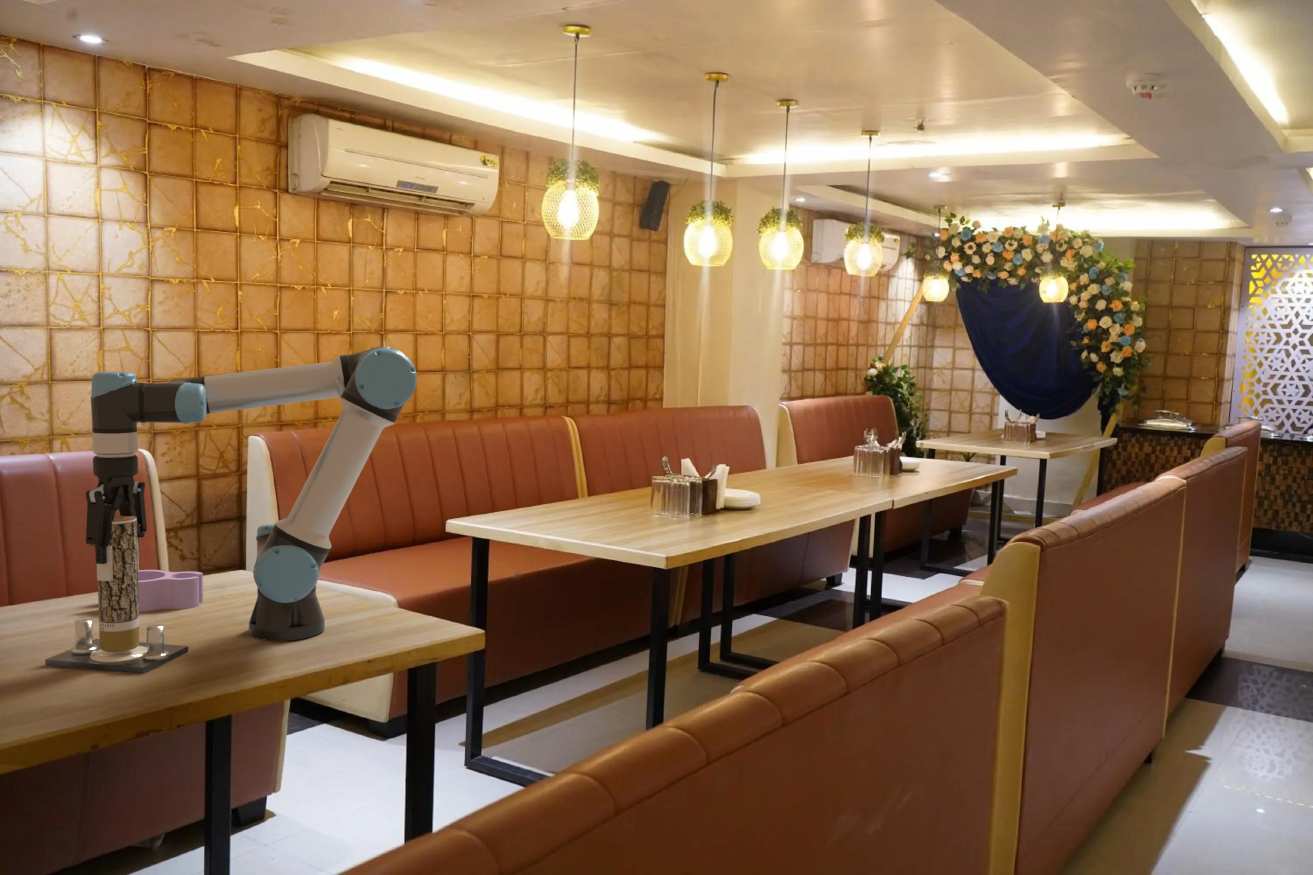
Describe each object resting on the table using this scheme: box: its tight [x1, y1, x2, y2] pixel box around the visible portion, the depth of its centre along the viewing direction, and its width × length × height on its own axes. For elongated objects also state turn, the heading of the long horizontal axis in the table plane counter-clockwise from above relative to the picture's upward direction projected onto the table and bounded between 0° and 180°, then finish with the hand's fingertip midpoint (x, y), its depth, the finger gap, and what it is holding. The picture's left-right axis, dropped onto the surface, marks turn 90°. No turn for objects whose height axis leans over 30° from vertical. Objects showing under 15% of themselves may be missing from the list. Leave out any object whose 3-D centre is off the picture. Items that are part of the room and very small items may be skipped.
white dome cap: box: [90, 646, 147, 663], centre depth 202 cm, size 10×10×1 cm
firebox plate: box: [44, 638, 189, 675], centre depth 203 cm, size 20×14×1 cm
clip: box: [138, 569, 204, 613], centre depth 242 cm, size 20×12×7 cm, turn 100°
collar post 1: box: [70, 618, 97, 655], centre depth 203 cm, size 4×4×6 cm
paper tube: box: [97, 514, 141, 652], centre depth 200 cm, size 7×7×25 cm
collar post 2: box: [143, 623, 169, 661], centre depth 200 cm, size 4×4×6 cm
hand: (118, 575), depth 200 cm, fingers closed on paper tube, 7 cm apart
